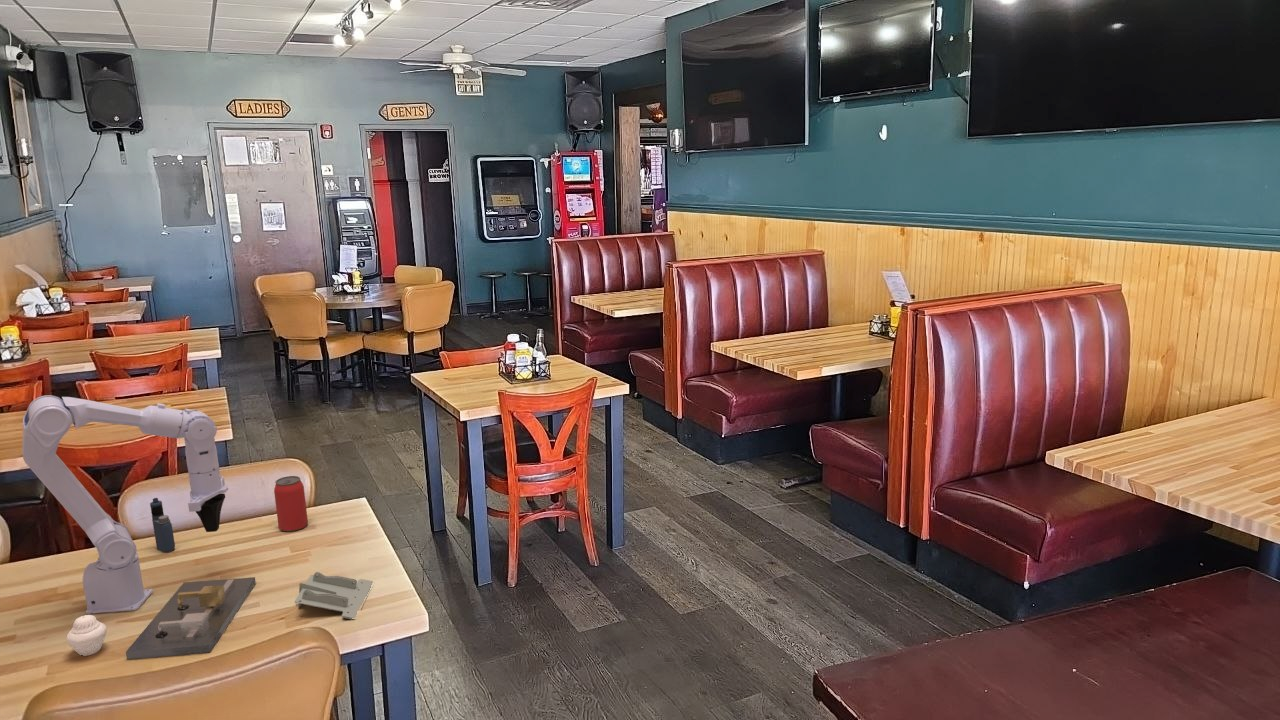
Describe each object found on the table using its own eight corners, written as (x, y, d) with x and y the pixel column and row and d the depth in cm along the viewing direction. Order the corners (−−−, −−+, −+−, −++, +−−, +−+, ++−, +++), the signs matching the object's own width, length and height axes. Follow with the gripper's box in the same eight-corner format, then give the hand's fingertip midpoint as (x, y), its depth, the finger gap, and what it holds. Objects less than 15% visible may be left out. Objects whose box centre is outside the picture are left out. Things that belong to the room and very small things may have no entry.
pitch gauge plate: (126, 659, 151) (123, 636, 150) (185, 589, 176) (181, 569, 175) (210, 652, 152) (206, 629, 151) (255, 583, 177) (253, 563, 176)
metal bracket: (288, 597, 160) (310, 561, 175) (282, 625, 161) (305, 587, 176) (365, 612, 162) (381, 575, 177) (359, 639, 163) (375, 600, 178)
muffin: (61, 657, 152) (54, 621, 150) (93, 639, 158) (87, 605, 156) (86, 663, 150) (79, 627, 148) (117, 645, 155) (111, 610, 154)
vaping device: (166, 544, 197) (158, 495, 195) (177, 549, 194) (169, 500, 192) (154, 548, 195) (146, 499, 193) (165, 554, 192) (158, 504, 190)
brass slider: (175, 612, 163) (173, 595, 162) (182, 604, 166) (179, 588, 165) (220, 608, 164) (218, 592, 163) (225, 600, 167) (223, 584, 166)
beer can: (273, 531, 203) (267, 484, 200) (288, 520, 209) (283, 474, 207) (298, 533, 202) (292, 485, 199) (313, 521, 208) (308, 475, 205)
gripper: (211, 480, 169) (220, 543, 172) (235, 456, 183) (243, 515, 186) (173, 482, 169) (183, 546, 172) (201, 458, 183) (209, 517, 186)
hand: (212, 530), depth 179 cm, fingers closed
